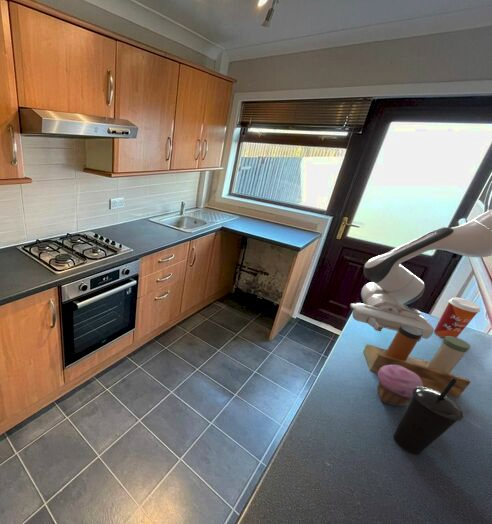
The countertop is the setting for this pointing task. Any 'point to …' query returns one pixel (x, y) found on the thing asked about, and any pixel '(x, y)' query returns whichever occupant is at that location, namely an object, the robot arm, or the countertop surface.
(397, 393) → the cupcake
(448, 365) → the sage jar
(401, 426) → the drinking cup
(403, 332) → the amber jar
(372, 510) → the countertop surface
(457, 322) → the paper cup
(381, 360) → the spice rack
